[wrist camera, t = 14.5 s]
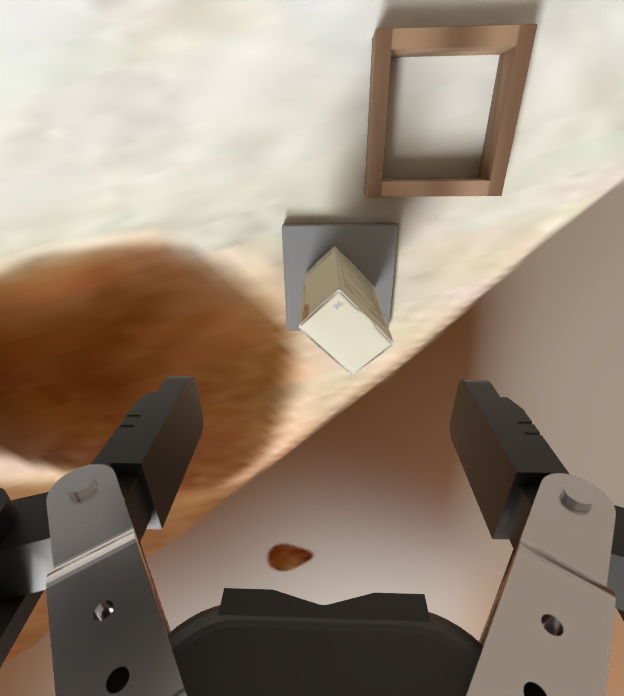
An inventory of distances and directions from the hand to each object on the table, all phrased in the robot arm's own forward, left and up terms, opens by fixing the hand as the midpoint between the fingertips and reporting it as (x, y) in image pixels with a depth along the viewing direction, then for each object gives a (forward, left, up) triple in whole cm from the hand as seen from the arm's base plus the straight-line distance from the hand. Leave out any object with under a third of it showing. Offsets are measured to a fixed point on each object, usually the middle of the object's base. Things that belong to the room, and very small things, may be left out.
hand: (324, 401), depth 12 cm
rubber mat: (+1, -5, -29) cm, 29 cm away
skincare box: (+1, -5, -28) cm, 28 cm away
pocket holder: (+9, +9, -29) cm, 31 cm away
